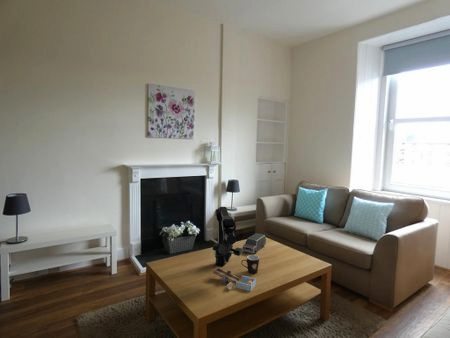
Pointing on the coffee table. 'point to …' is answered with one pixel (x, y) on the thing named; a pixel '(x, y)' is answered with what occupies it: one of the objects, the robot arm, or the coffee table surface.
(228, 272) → the pivot stand
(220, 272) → the lever
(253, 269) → the coffee mug
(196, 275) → the coffee table surface
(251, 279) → the dish
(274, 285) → the coffee table surface
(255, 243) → the toy van
